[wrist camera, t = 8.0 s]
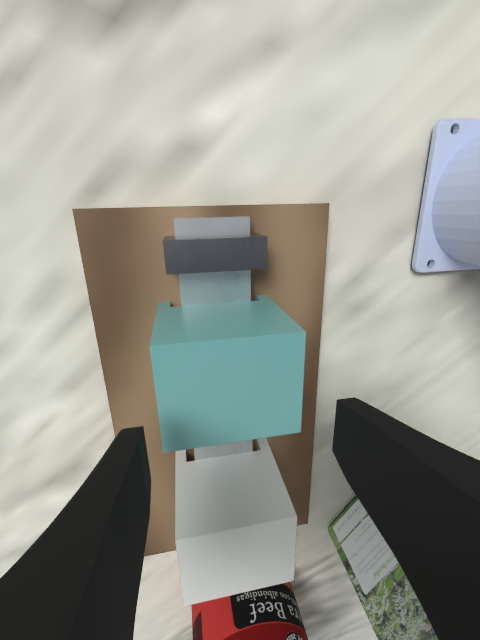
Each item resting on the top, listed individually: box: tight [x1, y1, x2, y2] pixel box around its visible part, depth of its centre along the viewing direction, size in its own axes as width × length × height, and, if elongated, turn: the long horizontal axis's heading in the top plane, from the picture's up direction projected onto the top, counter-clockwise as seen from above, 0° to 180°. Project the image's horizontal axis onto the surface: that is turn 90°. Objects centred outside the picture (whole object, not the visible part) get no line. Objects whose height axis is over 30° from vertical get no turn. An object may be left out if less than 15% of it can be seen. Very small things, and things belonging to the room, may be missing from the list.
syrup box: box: [328, 496, 439, 640], centre depth 19 cm, size 6×6×14 cm
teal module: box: [149, 295, 306, 453], centre depth 14 cm, size 6×4×6 cm
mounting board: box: [73, 203, 329, 556], centre depth 19 cm, size 12×22×1 cm, turn 1°
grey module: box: [175, 438, 297, 606], centre depth 18 cm, size 6×4×6 cm
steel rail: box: [163, 216, 268, 461], centre depth 17 cm, size 4×21×2 cm, turn 1°
